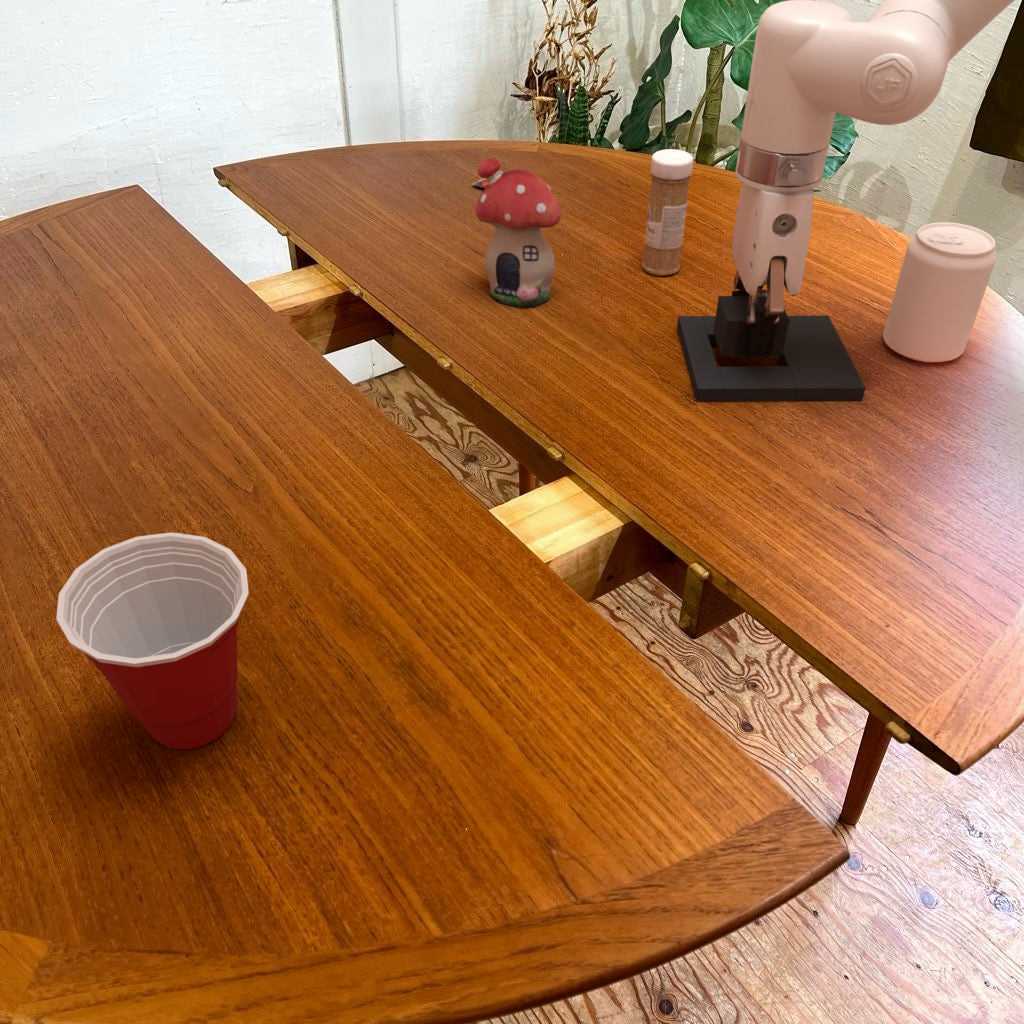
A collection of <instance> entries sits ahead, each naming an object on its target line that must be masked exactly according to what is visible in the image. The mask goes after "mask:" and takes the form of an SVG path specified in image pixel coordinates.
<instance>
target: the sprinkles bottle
mask: <svg viewBox="0 0 1024 1024" xmlns="http://www.w3.org/2000/svg"><path fill="white" fill-rule="evenodd" d="M693 167H694V156H693V155H692V154H691V153H689V152H688V151H685V150H682V149H675V148H674V149H673V148H668V149H660V150H658V151H656V152H654V153H653V154H652V156H651V161H650V175H651V181H650V191H649V200H648V206H647V207H648V208H647V217H646V227H645V235H644V242H645V243H644V249H643V260H642V262H641V267H642V269H643V270H644V271H645V273H648V274H649V275H653V276H659V277H660V276H671V275H675V274H677V273H678V272H679V271H680V268H681V264H680V260H681V253H682V245H683V241H684V233H685V226H686V218H687V209H688V198H689V197H688V196H689V188H690V180H691V176H692V173H693Z"/></svg>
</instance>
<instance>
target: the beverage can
mask: <svg viewBox="0 0 1024 1024" xmlns="http://www.w3.org/2000/svg"><path fill="white" fill-rule="evenodd" d="M995 248H996V240H995V239H994V238H993V236H992V235H991V234H989V233H988V232H986V231H984V230H982V229H980V228H978V227H974V226H972V225H968V224H963V223H958V222H950V221H949V222H946V221H945V222H944V221H943V222H940V221H939V222H931V223H927V224H923V225H922V226H921V227H919V228H918V230H917V231H916V234H915V235H914V236H912V237H911V239H910V240H909V241H908V244H907V246H906V250H905V254H904V258H903V261H902V264H901V268H900V272H899V275H898V278H897V283H896V285H895V290H894V293H893V296H892V300H891V303H890V307H889V311H888V314H887V317H886V321H885V325H884V328H883V331H882V338H883V341H884V344H886V345H887V347H888V348H890V349H891V350H892V351H894V352H895V353H897V354H898V355H901V356H902V357H905V358H908V359H910V360H914V361H918V362H925V363H942V362H948V361H952V360H955V359H957V358H960V357H961V356H962V355H963V353H965V350H966V347H967V344H968V342H969V338H970V336H971V333H972V330H973V327H974V325H975V321H976V319H977V315H978V313H979V310H980V307H981V304H982V301H983V298H984V295H985V293H986V289H987V288H988V287H987V286H988V284H989V281H990V278H991V275H992V272H993V269H994V267H995V264H996V261H997V253H996V249H995Z"/></svg>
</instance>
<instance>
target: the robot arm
mask: <svg viewBox="0 0 1024 1024" xmlns="http://www.w3.org/2000/svg"><path fill="white" fill-rule="evenodd" d="M1015 1H1016V0H884V1H883V2H882V3H881V4H880V5H879V6H878V7H877V8H876V10H875V11H874V12H873V13H872V15H870V17H869V19H867V21H866V22H860V21H859V22H858V21H857V22H856V21H853V17H852V16H851V14H850V12H848V10H847V9H845V7H843V6H840V5H838V4H835V3H832V2H829V1H823V0H783V1H781V2H777V3H774V4H772V5H770V6H768V7H767V8H766V9H765V10H764V11H763V13H762V14H761V16H760V18H759V21H758V23H757V28H756V34H755V41H754V46H753V47H754V48H753V55H752V61H751V68H750V74H749V81H748V87H747V95H746V100H745V105H744V106H745V107H744V113H743V114H744V115H743V119H742V126H741V133H740V140H739V147H738V153H737V160H736V166H735V172H734V173H735V174H734V175H735V177H736V179H737V180H738V181H739V182H740V183H741V189H740V194H739V198H738V203H737V209H736V214H735V220H734V228H733V232H732V233H733V235H732V243H731V245H732V246H731V252H732V259H733V263H734V265H735V267H736V271H735V275H734V279H733V289H734V290H732V291H731V296H749V304H748V314H747V319H743V323H742V329H741V335H740V341H739V346H738V356H739V357H738V358H740V359H769V358H770V357H772V356H771V353H772V348H773V343H774V338H775V333H776V329H777V324H778V322H779V316H780V315H782V314H783V311H784V309H785V291H786V292H787V294H788V296H791V297H792V298H794V297H797V296H798V295H799V294H800V293H801V291H802V286H803V280H804V276H805V269H806V263H807V257H808V250H809V245H810V239H811V238H810V237H811V230H812V224H813V223H812V222H813V213H814V196H815V191H814V189H816V188H817V187H819V186H821V184H822V181H823V176H824V171H825V165H826V161H827V157H828V152H829V146H830V143H831V138H832V133H833V128H834V124H835V119H836V114H840V115H842V116H846V117H849V118H852V119H854V120H855V119H856V120H859V121H862V122H865V123H869V124H874V125H878V126H879V125H880V126H895V125H900V124H903V123H907V122H909V121H912V120H914V119H915V118H917V117H918V116H920V115H922V114H923V113H924V112H925V111H926V110H927V109H928V108H929V107H930V106H931V105H932V104H933V103H934V101H935V100H936V98H937V97H938V94H939V93H940V91H941V89H942V85H943V83H944V81H945V76H946V74H947V73H946V72H947V69H948V65H949V63H950V61H951V60H952V59H953V58H955V56H956V55H957V54H958V53H959V52H960V51H961V50H962V49H963V48H964V47H965V46H967V44H968V43H970V42H971V41H972V40H973V39H974V38H975V37H976V36H978V34H979V33H980V32H982V31H983V30H984V29H985V28H986V27H987V26H988V25H989V24H990V23H991V22H992V21H994V20H995V18H996V17H998V16H999V15H1000V14H1001V13H1002V12H1003V11H1004V10H1005V9H1007V8H1008V7H1009V6H1010V5H1011V4H1012V3H1013V2H1015ZM765 285H766V288H765V289H764V286H765ZM758 298H767V301H766V303H765V305H760V306H759V307H758V309H757V300H758ZM756 309H757V310H756Z"/></svg>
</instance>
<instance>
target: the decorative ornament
mask: <svg viewBox="0 0 1024 1024" xmlns="http://www.w3.org/2000/svg"><path fill="white" fill-rule="evenodd" d="M477 175H478V176H479V177H480V178H483V179H487V181H488V184H487V186H486V188H484V189H483V191H482V193H481V194H480V195H479V197H478V199H477V202H476V205H475V215H476V218H477V220H479V221H480V222H482V223H485V224H490V225H492V226H493V227H494V228H495V231H494V233H493V235H492V236H491V238H490V240H489V242H488V245H487V248H486V250H485V256H484V267H485V272H486V275H487V279H488V281H489V286H490V287H489V288H490V292H489V294H490V296H491V297H493V298H494V299H495V300H496V301H498V302H500V303H501V304H504V305H509V306H514V307H517V308H518V307H519V308H526V307H536V306H539V305H542V304H543V303H545V302H548V300H549V298H550V295H551V285H552V280H553V278H554V274H555V266H556V262H555V255H554V253H553V250H552V246H551V245H550V244H549V242H548V240H547V238H546V237H545V235H544V234H543V232H542V230H541V229H547V228H552V227H554V226H556V225H557V224H559V222H560V220H561V217H562V212H561V208H560V204H559V202H558V199H557V198H556V196H555V195H554V192H553V191H552V189H551V187H550V185H549V184H548V183H546V182H545V181H544V180H543V179H541V177H539V176H537V175H536V174H534V173H533V172H531V171H528V170H525V169H519V168H517V169H516V168H515V169H512V170H508V171H502V170H501V163H500V161H499V160H498V159H496V158H494V157H493V158H487V159H485V160H484V161H482V162H481V163H480V164H479V165H478V168H477Z"/></svg>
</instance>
